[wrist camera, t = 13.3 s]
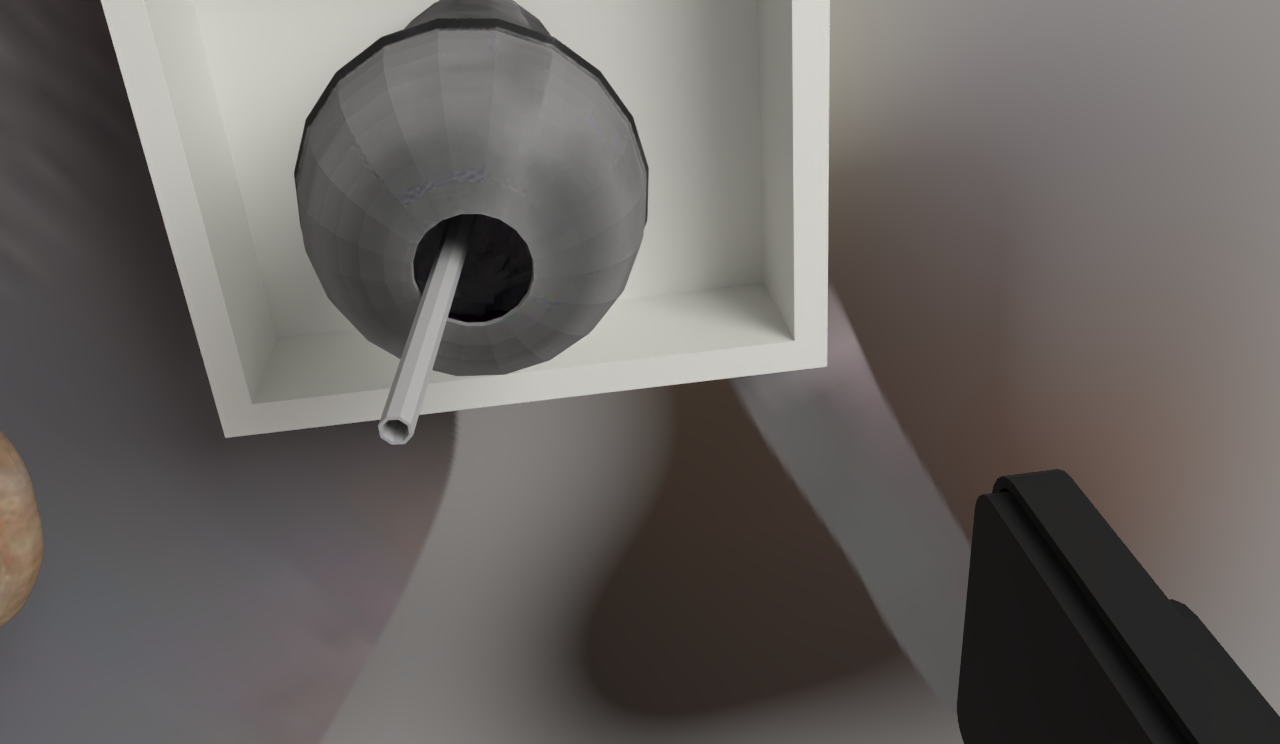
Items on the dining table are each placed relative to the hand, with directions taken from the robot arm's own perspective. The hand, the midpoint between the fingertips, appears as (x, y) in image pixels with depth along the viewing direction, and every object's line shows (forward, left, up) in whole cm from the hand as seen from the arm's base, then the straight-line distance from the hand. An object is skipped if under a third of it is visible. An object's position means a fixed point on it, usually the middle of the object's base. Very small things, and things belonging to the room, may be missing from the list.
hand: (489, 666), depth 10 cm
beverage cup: (+1, 0, -26) cm, 26 cm away
